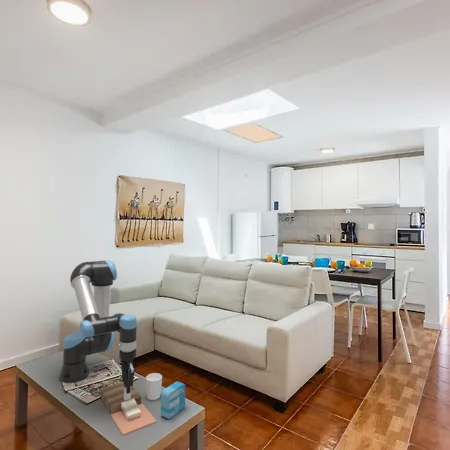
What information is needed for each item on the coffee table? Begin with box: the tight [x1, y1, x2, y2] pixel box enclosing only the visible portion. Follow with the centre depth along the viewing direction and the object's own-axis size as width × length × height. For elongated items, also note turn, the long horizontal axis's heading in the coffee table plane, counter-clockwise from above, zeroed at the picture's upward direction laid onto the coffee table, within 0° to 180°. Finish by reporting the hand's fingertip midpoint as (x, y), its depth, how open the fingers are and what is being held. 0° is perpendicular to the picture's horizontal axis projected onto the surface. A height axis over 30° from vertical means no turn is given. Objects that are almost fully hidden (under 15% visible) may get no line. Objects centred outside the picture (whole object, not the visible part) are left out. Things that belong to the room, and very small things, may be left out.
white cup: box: [145, 372, 163, 401], centre depth 162 cm, size 8×8×10 cm
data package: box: [160, 381, 186, 420], centre depth 150 cm, size 12×4×12 cm, turn 147°
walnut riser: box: [99, 381, 142, 415], centre depth 158 cm, size 18×14×4 cm
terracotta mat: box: [110, 403, 157, 436], centre depth 144 cm, size 16×15×1 cm
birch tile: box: [121, 398, 141, 421], centre depth 146 cm, size 9×6×2 cm, turn 37°
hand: (127, 398), depth 150 cm, fingers closed
